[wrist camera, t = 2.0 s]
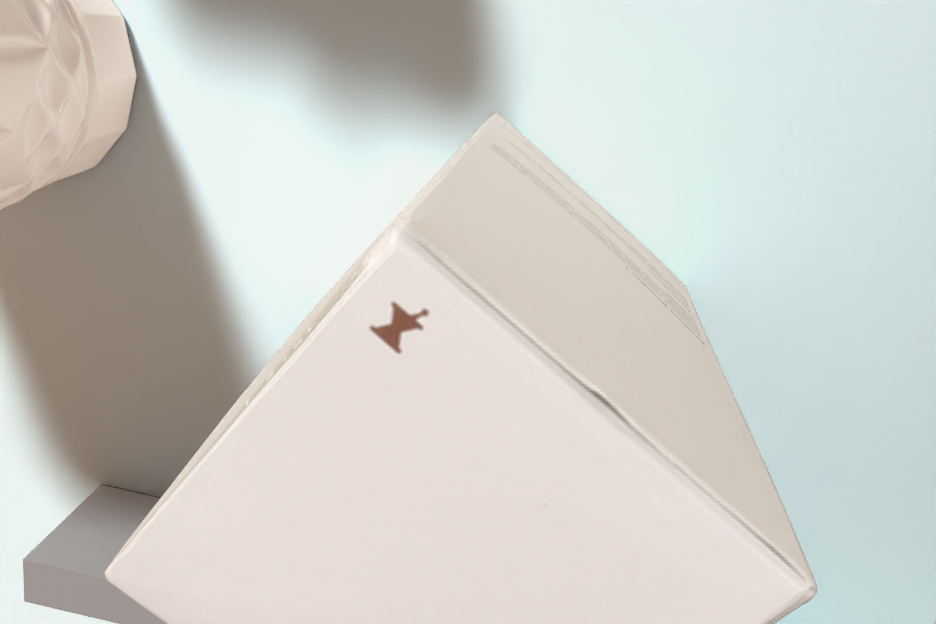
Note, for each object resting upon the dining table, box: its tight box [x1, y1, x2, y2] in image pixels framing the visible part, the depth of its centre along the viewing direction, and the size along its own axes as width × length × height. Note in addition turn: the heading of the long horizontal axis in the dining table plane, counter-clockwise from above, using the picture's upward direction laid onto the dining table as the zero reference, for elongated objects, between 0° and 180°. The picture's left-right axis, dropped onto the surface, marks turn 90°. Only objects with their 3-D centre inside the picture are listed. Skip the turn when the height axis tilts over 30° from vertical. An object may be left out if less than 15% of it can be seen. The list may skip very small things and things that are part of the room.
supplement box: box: [105, 113, 817, 624], centre depth 17 cm, size 7×7×13 cm
